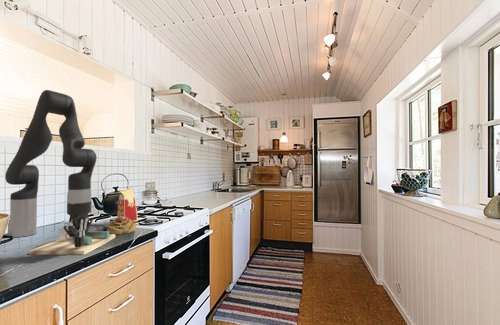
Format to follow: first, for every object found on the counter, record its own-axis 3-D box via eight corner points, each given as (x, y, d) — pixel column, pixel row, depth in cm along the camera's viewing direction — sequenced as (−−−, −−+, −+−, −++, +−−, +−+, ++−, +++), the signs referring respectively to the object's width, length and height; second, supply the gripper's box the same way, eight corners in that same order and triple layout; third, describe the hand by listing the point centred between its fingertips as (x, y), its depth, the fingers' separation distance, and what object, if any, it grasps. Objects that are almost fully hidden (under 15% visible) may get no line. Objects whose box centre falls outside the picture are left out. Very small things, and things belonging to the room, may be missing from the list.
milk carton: (131, 218, 148) (131, 186, 148) (138, 221, 142) (138, 187, 142) (115, 221, 141) (115, 187, 141) (122, 224, 135) (122, 188, 135)
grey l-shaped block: (58, 240, 99) (58, 228, 99) (70, 235, 107) (71, 224, 107) (65, 240, 99) (65, 228, 100) (77, 235, 107) (77, 224, 107)
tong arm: (72, 239, 101) (72, 233, 101) (76, 238, 102) (76, 233, 102) (87, 244, 95) (87, 238, 95) (91, 243, 96) (92, 237, 96)
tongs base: (70, 239, 102) (70, 232, 102) (75, 237, 105) (75, 230, 105) (105, 239, 102) (105, 232, 102) (109, 237, 105) (109, 230, 105)
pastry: (104, 237, 111) (104, 219, 112) (109, 229, 125) (109, 213, 125) (135, 234, 117) (135, 217, 117) (137, 226, 130) (137, 211, 130)
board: (29, 254, 88) (29, 250, 89) (71, 237, 109) (71, 234, 110) (84, 254, 89) (84, 250, 89) (115, 237, 110) (115, 234, 110)
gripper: (81, 198, 98) (81, 241, 98) (55, 203, 85) (54, 253, 85) (100, 198, 98) (99, 241, 98) (77, 203, 85) (76, 253, 85)
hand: (78, 246), depth 91 cm, fingers closed
